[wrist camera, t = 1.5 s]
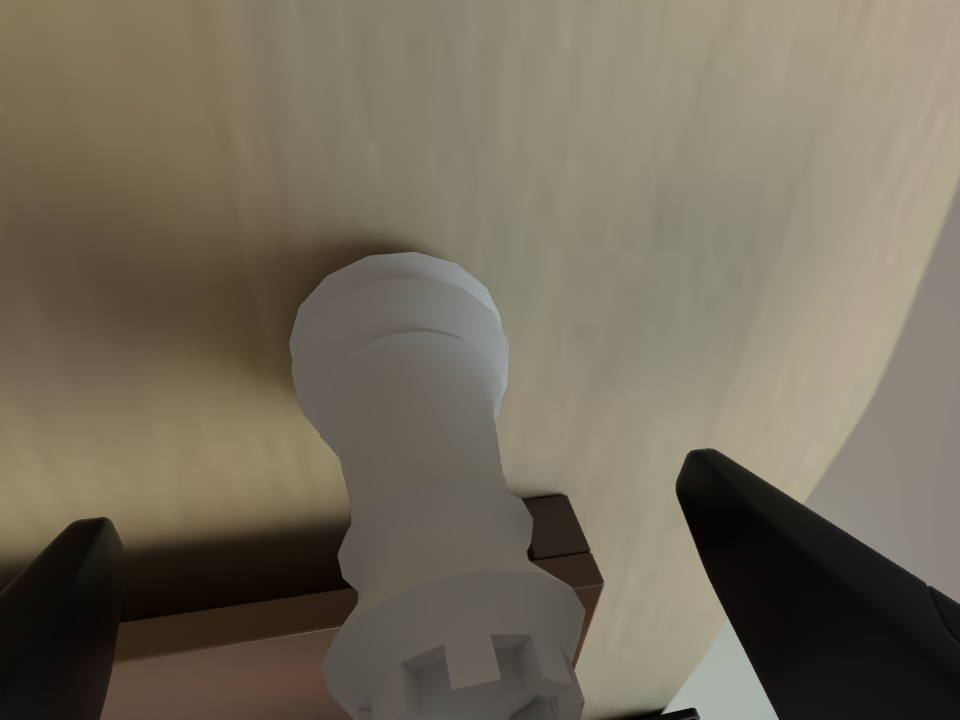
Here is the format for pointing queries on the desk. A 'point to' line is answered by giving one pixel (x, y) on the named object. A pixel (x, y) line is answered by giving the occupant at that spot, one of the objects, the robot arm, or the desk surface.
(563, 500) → the wooden display riser
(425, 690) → the rook chess piece
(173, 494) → the desk surface
